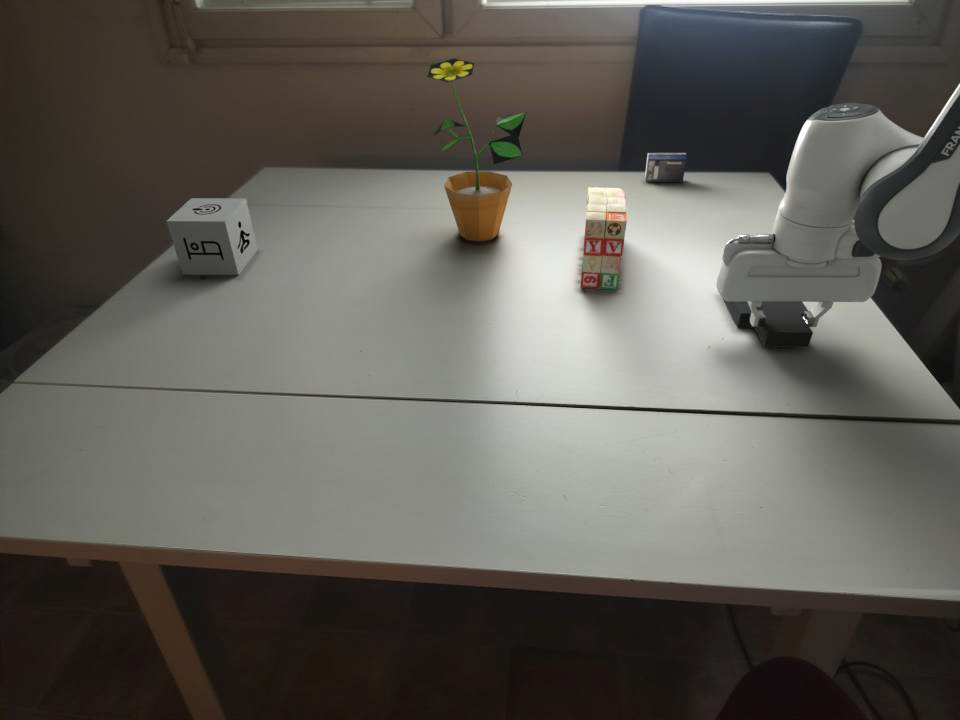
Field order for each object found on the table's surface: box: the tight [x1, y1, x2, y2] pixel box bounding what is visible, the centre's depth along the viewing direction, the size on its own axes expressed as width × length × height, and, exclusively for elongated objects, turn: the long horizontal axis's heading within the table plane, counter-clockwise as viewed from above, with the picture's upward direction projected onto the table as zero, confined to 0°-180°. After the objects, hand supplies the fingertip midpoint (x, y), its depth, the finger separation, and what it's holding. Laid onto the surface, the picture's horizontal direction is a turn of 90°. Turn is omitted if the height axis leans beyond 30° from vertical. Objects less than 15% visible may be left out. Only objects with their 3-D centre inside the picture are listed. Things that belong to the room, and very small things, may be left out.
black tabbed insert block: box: [754, 301, 814, 348], centre depth 96 cm, size 6×9×2 cm, turn 177°
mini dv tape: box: [644, 152, 688, 183], centre depth 147 cm, size 8×2×6 cm, turn 86°
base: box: [722, 298, 809, 329], centre depth 102 cm, size 10×10×2 cm
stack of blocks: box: [580, 187, 628, 291], centre depth 114 cm, size 21×6×12 cm, turn 171°
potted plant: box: [426, 58, 528, 242], centre depth 119 cm, size 18×19×30 cm
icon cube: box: [166, 197, 259, 276], centre depth 117 cm, size 10×10×10 cm
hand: (782, 324), depth 94 cm, fingers closed on black tabbed insert block, 6 cm apart
